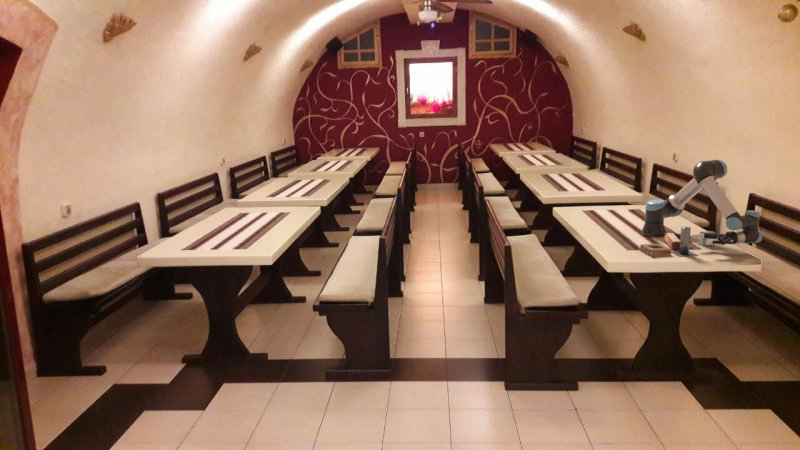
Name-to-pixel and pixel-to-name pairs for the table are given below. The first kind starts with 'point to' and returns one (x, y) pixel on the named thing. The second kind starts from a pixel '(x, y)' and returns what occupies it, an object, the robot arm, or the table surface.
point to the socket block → (655, 250)
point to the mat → (683, 255)
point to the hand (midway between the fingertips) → (699, 239)
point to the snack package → (672, 241)
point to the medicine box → (703, 241)
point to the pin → (684, 240)
